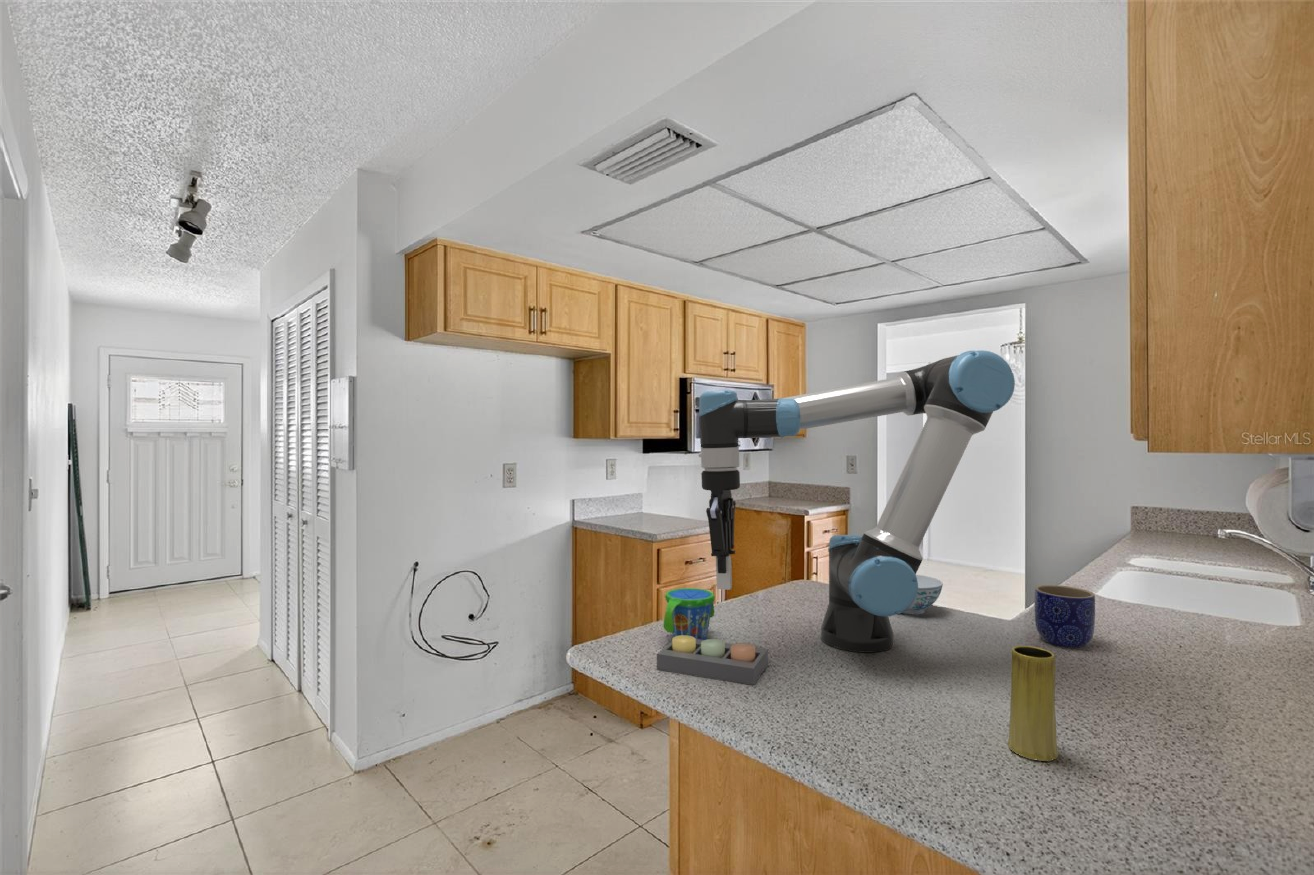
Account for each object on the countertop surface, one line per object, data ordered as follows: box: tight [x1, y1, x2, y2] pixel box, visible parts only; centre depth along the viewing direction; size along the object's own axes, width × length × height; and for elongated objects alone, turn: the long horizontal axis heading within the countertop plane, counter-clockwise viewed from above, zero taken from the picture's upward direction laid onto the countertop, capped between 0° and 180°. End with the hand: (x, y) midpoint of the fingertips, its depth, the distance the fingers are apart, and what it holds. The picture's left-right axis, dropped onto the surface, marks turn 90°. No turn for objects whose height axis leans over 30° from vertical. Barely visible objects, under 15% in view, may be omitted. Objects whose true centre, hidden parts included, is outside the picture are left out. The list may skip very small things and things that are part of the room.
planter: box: [1033, 584, 1096, 649], centre depth 134 cm, size 11×11×11 cm
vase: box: [1007, 645, 1059, 762], centre depth 89 cm, size 6×6×14 cm
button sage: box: [701, 638, 726, 658], centre depth 121 cm, size 5×5×4 cm
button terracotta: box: [731, 642, 756, 663], centre depth 119 cm, size 5×5×4 cm
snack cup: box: [663, 587, 716, 640], centre depth 137 cm, size 16×10×10 cm
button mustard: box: [671, 635, 696, 653], centre depth 124 cm, size 5×5×4 cm
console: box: [656, 639, 769, 686], centre depth 121 cm, size 19×11×3 cm, turn 66°
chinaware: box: [901, 574, 943, 615], centre depth 159 cm, size 15×15×8 cm
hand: (724, 588), depth 124 cm, fingers closed
